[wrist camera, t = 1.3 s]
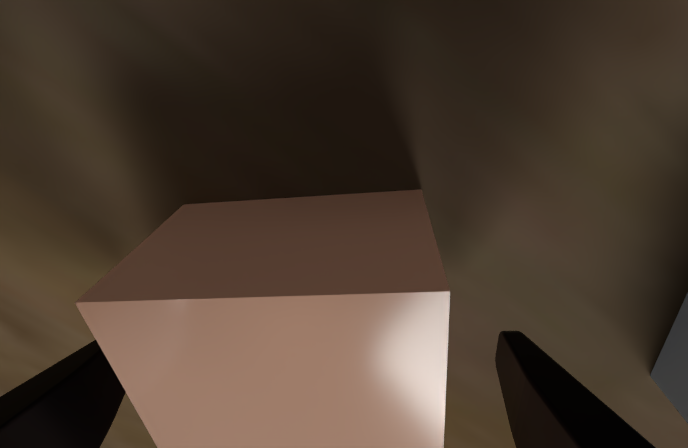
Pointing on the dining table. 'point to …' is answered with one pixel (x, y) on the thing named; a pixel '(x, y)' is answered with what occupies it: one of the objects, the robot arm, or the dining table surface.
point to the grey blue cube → (675, 363)
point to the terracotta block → (282, 324)
